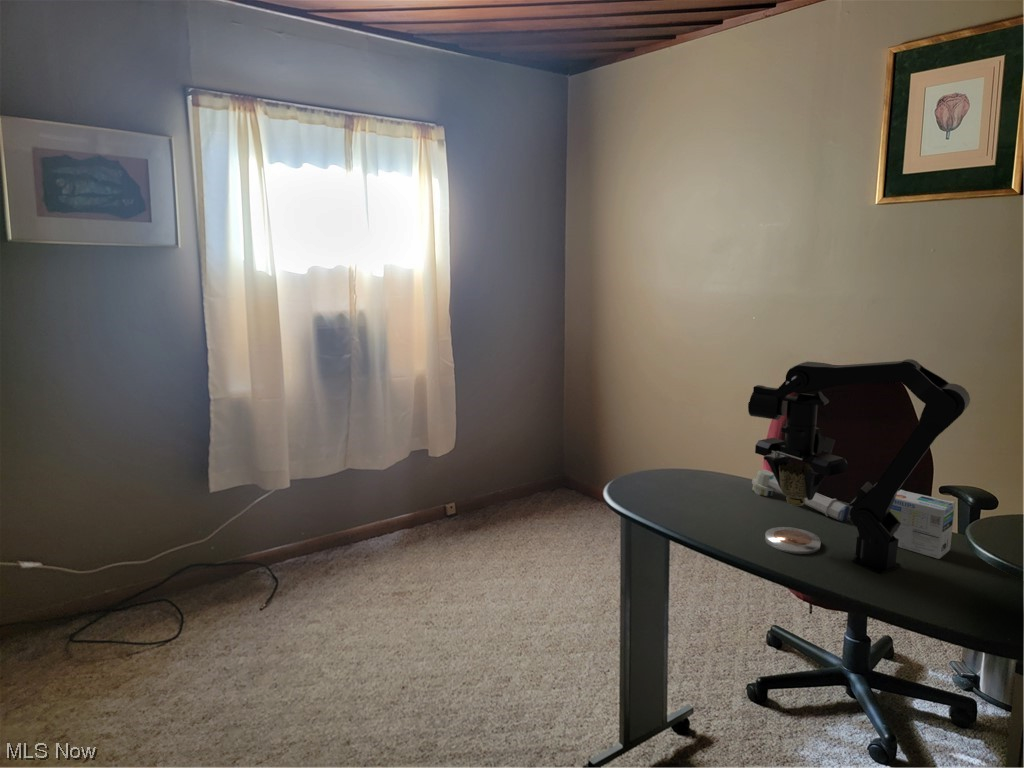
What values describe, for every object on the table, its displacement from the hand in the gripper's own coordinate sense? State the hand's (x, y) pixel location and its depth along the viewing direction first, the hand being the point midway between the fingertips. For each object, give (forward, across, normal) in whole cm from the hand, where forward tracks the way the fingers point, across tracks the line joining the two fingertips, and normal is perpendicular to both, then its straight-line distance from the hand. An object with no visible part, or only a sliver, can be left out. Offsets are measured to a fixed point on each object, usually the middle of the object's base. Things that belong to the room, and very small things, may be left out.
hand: (796, 494), depth 140 cm
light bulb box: (+11, -14, -21) cm, 27 cm away
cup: (+2, 0, 0) cm, 2 cm away
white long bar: (+11, +15, -19) cm, 27 cm away
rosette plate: (+11, 0, 0) cm, 11 cm away
